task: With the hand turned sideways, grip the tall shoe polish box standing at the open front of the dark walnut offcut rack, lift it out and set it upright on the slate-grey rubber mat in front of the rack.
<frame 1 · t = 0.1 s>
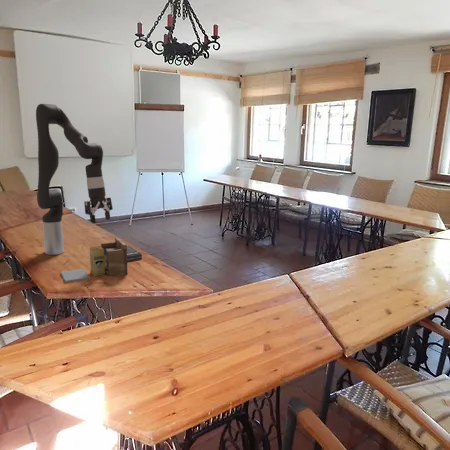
hand: (100, 221, 187), 22 cm above the table, tool pointing down, fingers open, 8 cm apart
rubber mat: (75, 276, 178), on the table
box: (121, 257, 209), on the table
offcut rack: (113, 256, 185), on the table
shoe polish box: (97, 273, 183), on the table
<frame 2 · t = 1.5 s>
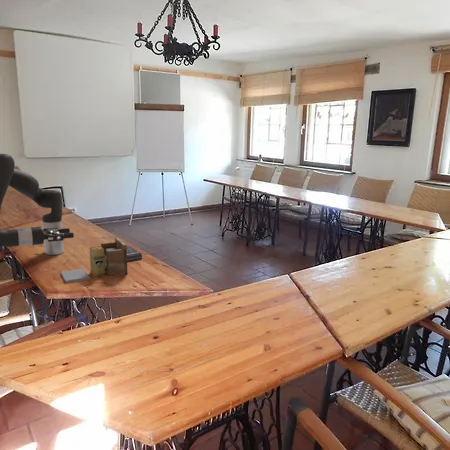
hand: (71, 232, 173), 20 cm above the table, tool horizontal, fingers open, 8 cm apart
nothing on the table moved.
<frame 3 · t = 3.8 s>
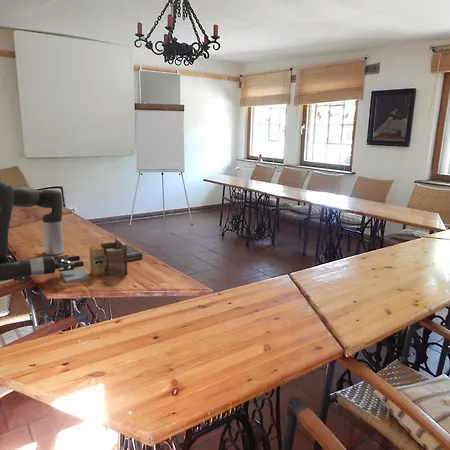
hand: (81, 260, 178), 7 cm above the table, tool horizontal, fingers open, 8 cm apart
nothing on the table moved.
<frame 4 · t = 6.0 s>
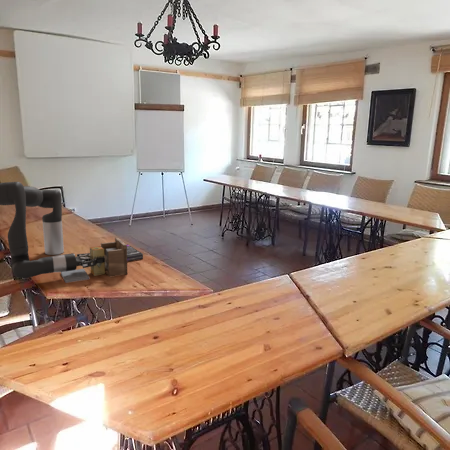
hand: (102, 257, 183), 7 cm above the table, tool horizontal, fingers closed on shoe polish box, 5 cm apart
shoe polish box: (97, 273, 183), on the table, touching gripper
everything else where it was.
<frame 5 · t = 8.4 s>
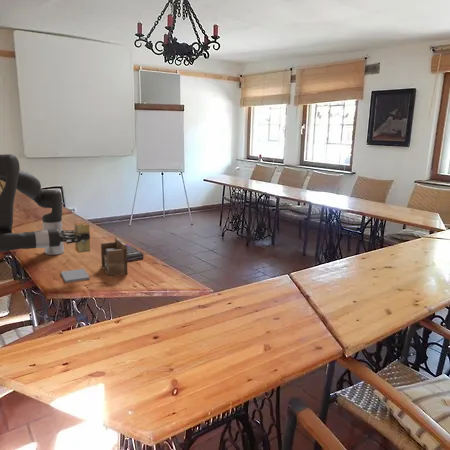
hand: (88, 234, 177), 19 cm above the table, tool horizontal, fingers closed on shoe polish box, 5 cm apart
shoe polish box: (82, 251, 177), point 11 cm above the table, touching gripper
everything else where it was.
when the fingers open (9 cm above the table, at t = 11.1 s): shoe polish box stays where it is, resting on rubber mat.
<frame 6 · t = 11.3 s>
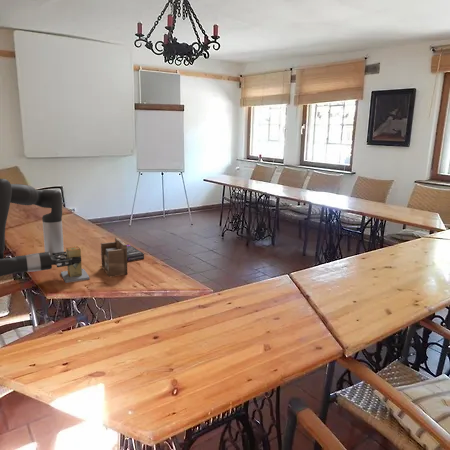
hand: (79, 256, 177), 9 cm above the table, tool horizontal, fingers open, 6 cm apart
shoe polish box: (74, 274, 178), point 1 cm above the table, touching rubber mat
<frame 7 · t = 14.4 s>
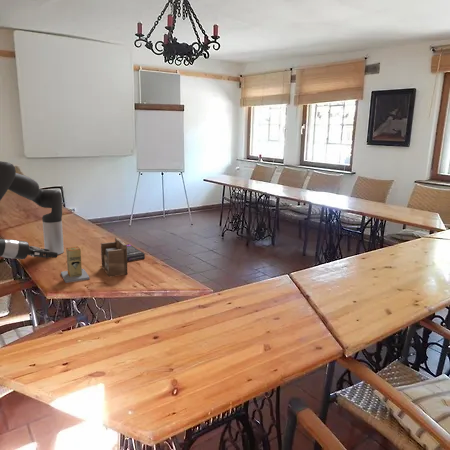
hand: (52, 253, 174), 11 cm above the table, tool tilted 70°, fingers open, 8 cm apart
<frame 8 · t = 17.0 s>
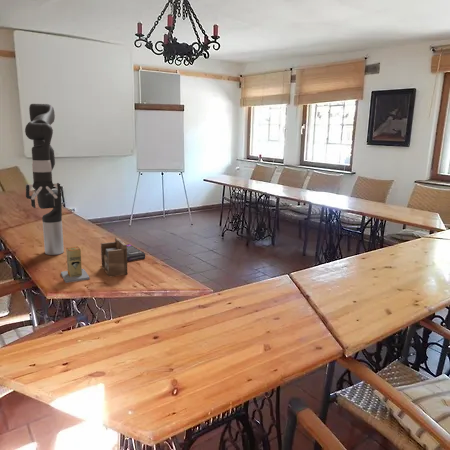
hand: (44, 207, 177), 30 cm above the table, tool pointing down, fingers open, 8 cm apart
at the end: shoe polish box inside the target area on the rubber mat (0.1 cm from its centre), point 0.8 cm above the rubber mat's base; shoe polish box tilted 0°; the gripper is holding nothing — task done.
